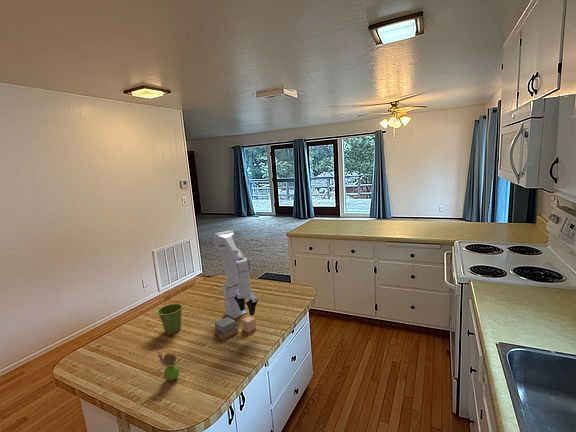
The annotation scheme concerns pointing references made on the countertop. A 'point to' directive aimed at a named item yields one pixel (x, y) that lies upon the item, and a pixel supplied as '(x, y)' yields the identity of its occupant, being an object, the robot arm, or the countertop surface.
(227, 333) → the base slab
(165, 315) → the plant pot
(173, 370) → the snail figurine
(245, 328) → the terracotta block
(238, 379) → the countertop surface
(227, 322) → the top slab
